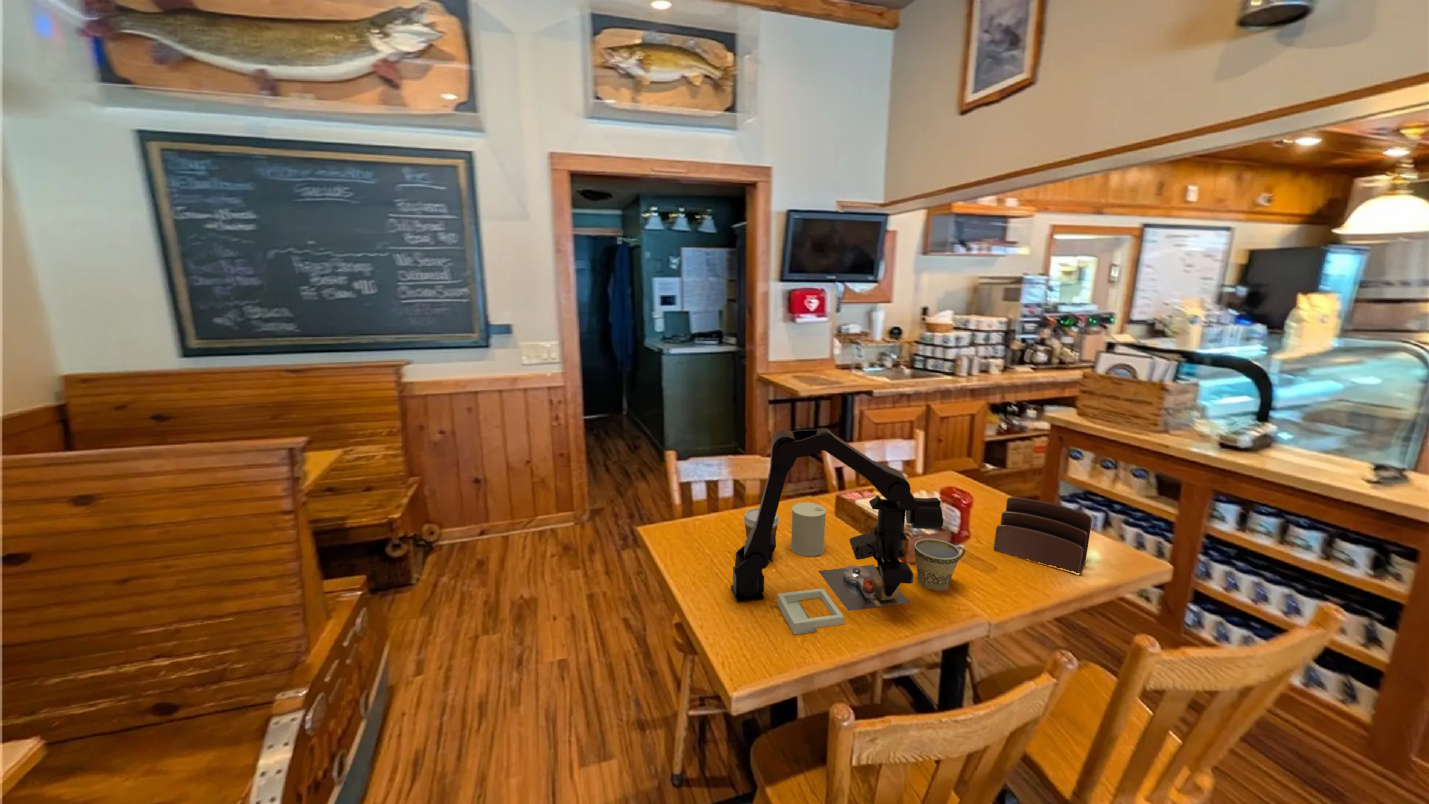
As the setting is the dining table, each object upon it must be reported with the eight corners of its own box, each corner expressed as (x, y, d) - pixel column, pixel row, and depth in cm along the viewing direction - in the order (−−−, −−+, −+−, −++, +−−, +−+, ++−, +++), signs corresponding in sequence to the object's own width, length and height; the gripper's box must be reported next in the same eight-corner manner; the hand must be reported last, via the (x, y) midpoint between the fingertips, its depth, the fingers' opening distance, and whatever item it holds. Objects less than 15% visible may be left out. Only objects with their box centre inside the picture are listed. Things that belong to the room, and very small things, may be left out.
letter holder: (1002, 538, 152) (1008, 492, 149) (1085, 562, 139) (1094, 511, 136) (992, 551, 144) (998, 502, 141) (1079, 577, 131) (1088, 524, 128)
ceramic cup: (928, 601, 121) (932, 561, 119) (902, 578, 130) (905, 541, 128) (976, 592, 124) (980, 553, 122) (947, 571, 134) (951, 534, 132)
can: (827, 556, 141) (829, 514, 138) (792, 556, 141) (794, 514, 139) (821, 540, 150) (823, 500, 147) (788, 540, 150) (789, 500, 148)
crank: (840, 570, 131) (841, 556, 130) (864, 569, 131) (865, 556, 130) (856, 599, 119) (857, 584, 118) (882, 597, 119) (883, 583, 118)
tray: (793, 634, 109) (794, 623, 109) (777, 604, 120) (777, 593, 119) (843, 627, 111) (844, 616, 111) (822, 598, 122) (823, 588, 121)
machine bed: (848, 614, 116) (848, 608, 116) (817, 574, 132) (818, 569, 132) (910, 606, 119) (910, 600, 119) (873, 568, 135) (873, 562, 135)
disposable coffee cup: (756, 544, 147) (756, 504, 145) (785, 555, 142) (786, 513, 139) (735, 558, 140) (735, 515, 138) (765, 569, 134) (766, 526, 132)
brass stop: (881, 600, 119) (883, 576, 117) (873, 590, 123) (874, 567, 121) (897, 598, 120) (899, 574, 118) (888, 588, 123) (890, 565, 122)
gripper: (846, 508, 127) (843, 567, 131) (861, 544, 109) (856, 612, 112) (894, 509, 126) (889, 569, 130) (916, 547, 108) (910, 615, 111)
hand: (885, 589), depth 121 cm, fingers closed on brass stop, 5 cm apart
